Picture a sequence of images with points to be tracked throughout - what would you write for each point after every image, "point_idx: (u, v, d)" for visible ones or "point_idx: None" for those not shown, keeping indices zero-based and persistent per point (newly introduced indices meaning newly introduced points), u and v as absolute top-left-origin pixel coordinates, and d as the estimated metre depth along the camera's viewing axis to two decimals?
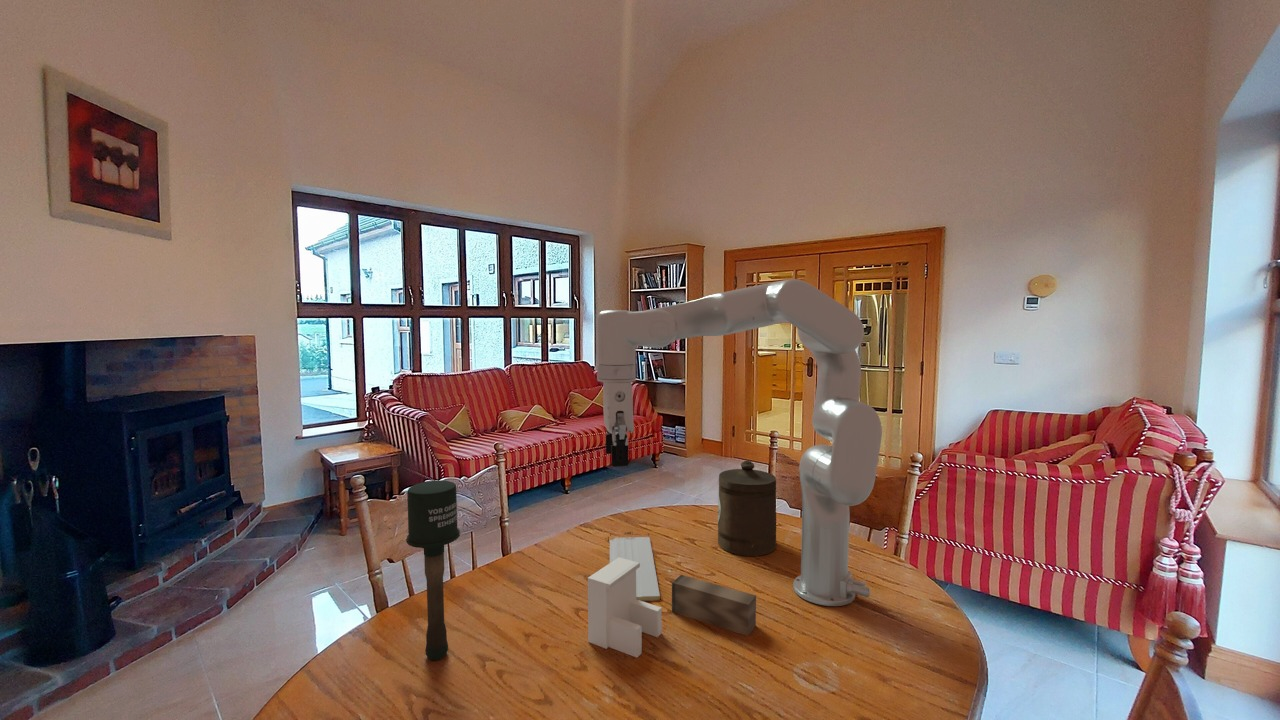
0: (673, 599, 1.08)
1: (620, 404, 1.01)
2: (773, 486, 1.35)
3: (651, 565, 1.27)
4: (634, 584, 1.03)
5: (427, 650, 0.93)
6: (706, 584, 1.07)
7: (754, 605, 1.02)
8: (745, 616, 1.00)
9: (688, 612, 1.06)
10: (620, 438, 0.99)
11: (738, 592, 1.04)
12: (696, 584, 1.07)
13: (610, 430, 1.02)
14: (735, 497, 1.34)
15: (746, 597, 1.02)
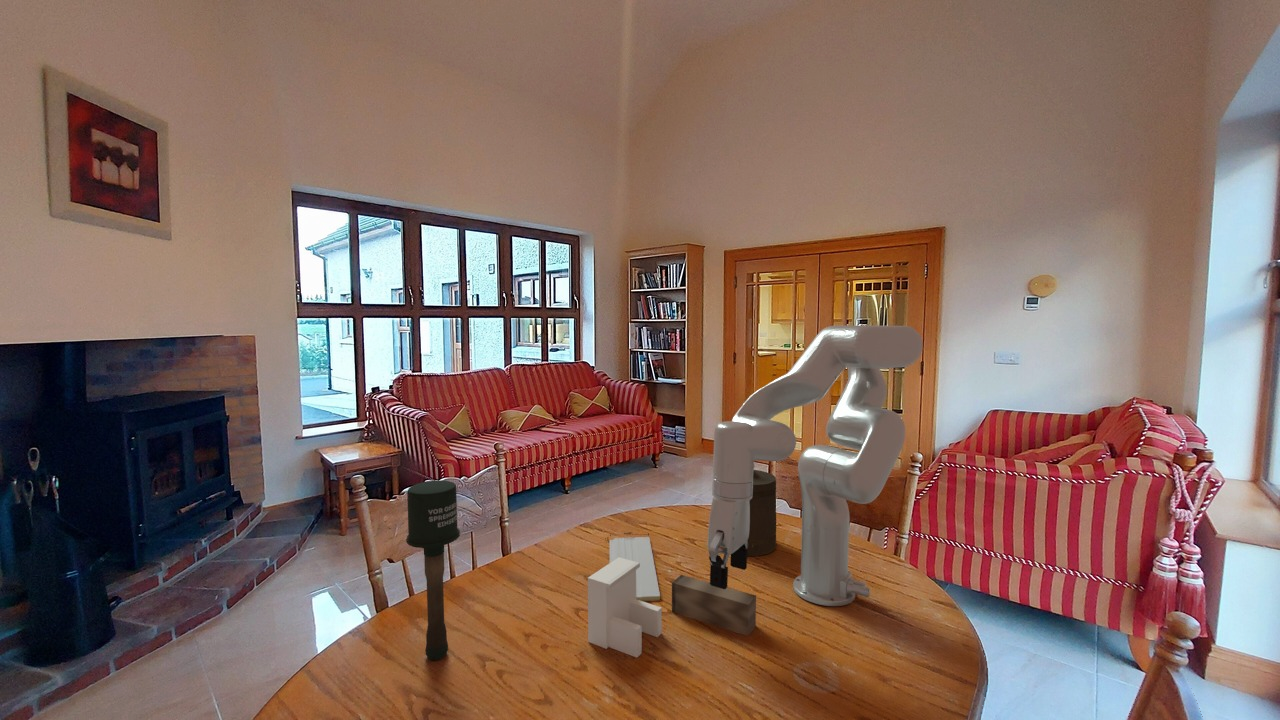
0: (673, 599, 1.08)
1: None
2: (773, 486, 1.35)
3: (651, 565, 1.27)
4: (634, 584, 1.03)
5: (427, 650, 0.93)
6: (706, 584, 1.07)
7: (754, 605, 1.02)
8: (745, 616, 1.00)
9: (688, 612, 1.06)
10: None
11: (738, 592, 1.04)
12: (696, 584, 1.07)
13: None
14: None
15: (746, 597, 1.02)
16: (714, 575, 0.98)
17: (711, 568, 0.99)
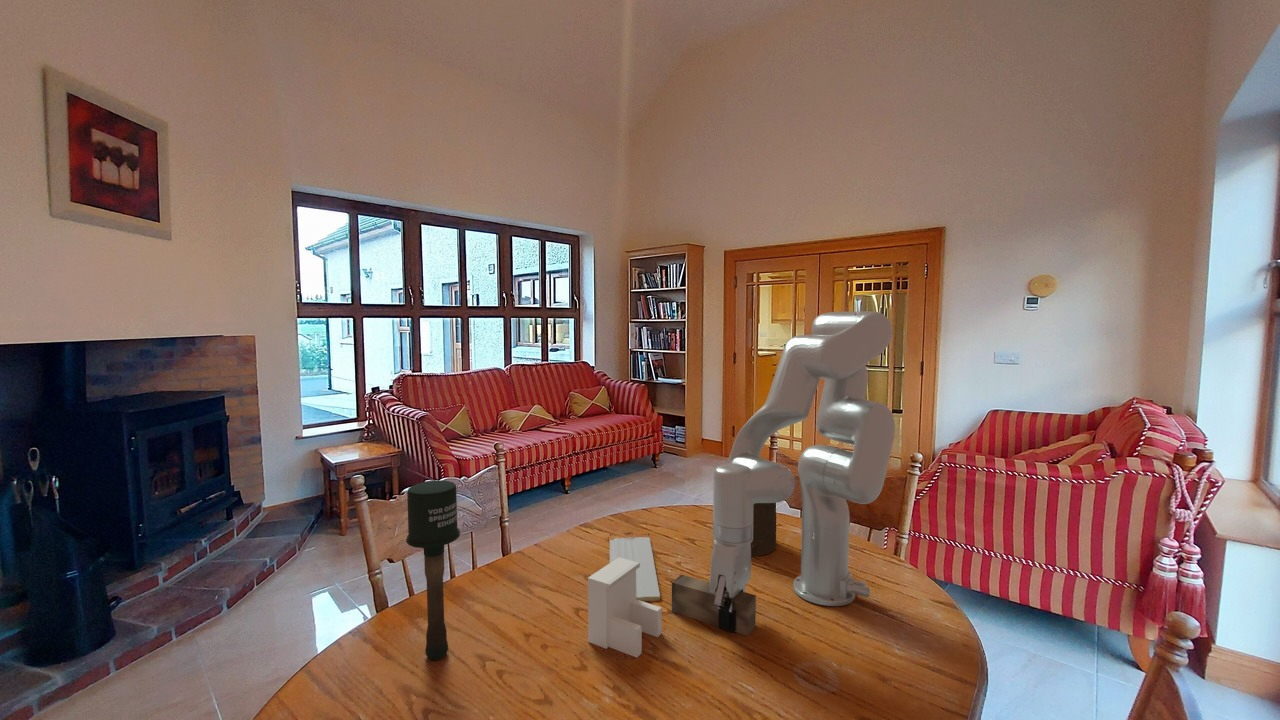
0: (673, 599, 1.08)
1: None
2: None
3: (652, 565, 1.26)
4: (634, 584, 1.03)
5: (427, 650, 0.93)
6: (706, 584, 1.07)
7: (754, 605, 1.02)
8: (745, 616, 1.00)
9: (687, 612, 1.06)
10: None
11: None
12: (695, 583, 1.07)
13: None
14: None
15: (746, 597, 1.02)
16: (722, 619, 1.01)
17: (719, 612, 1.02)
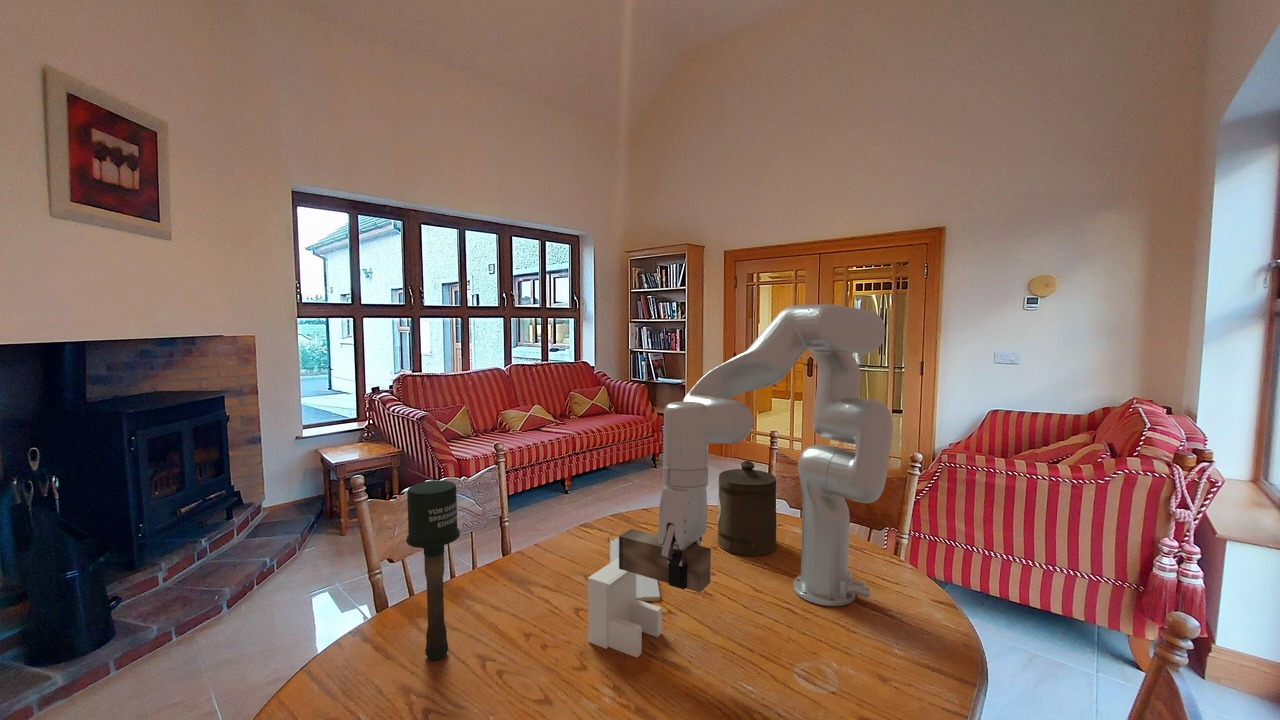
0: (620, 554, 0.96)
1: None
2: (773, 486, 1.35)
3: None
4: (634, 584, 1.03)
5: (427, 650, 0.93)
6: (657, 538, 0.96)
7: (708, 559, 0.91)
8: (697, 570, 0.88)
9: (636, 568, 0.95)
10: None
11: (691, 545, 0.92)
12: (645, 537, 0.96)
13: None
14: (735, 498, 1.34)
15: (700, 550, 0.91)
16: (672, 574, 0.89)
17: (669, 567, 0.90)
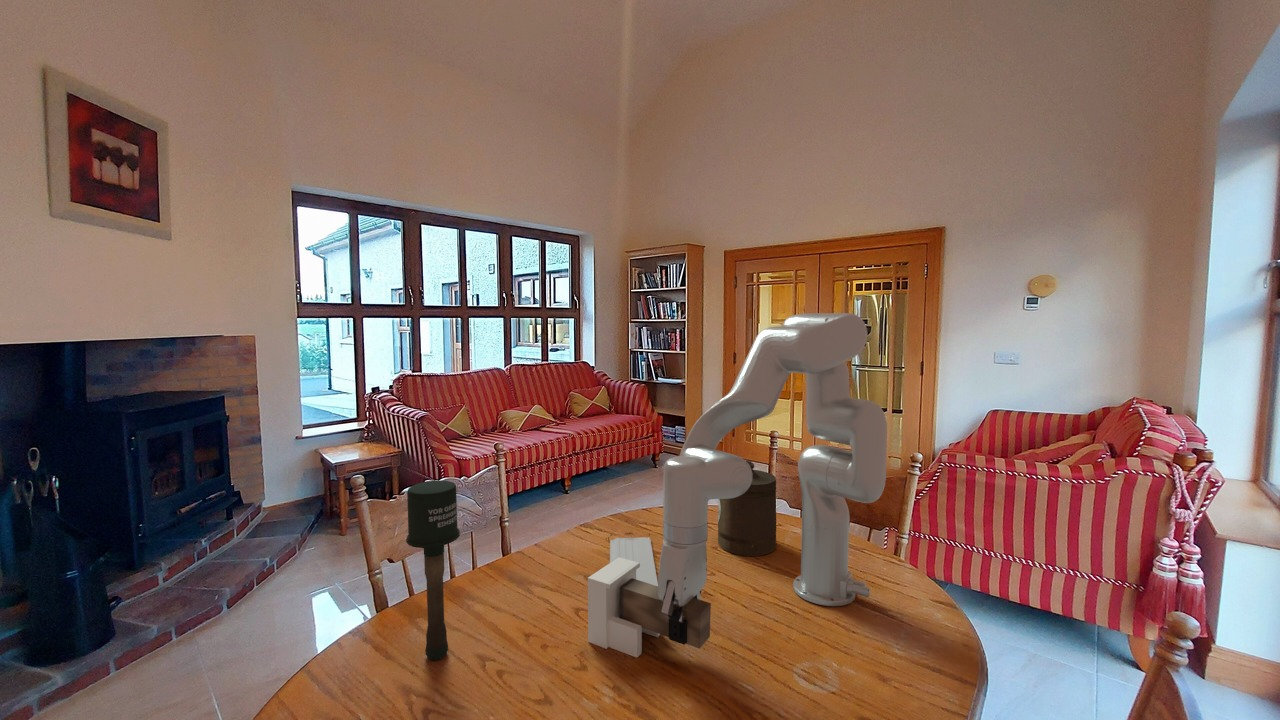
0: (621, 605, 0.97)
1: None
2: (773, 486, 1.35)
3: (652, 566, 1.26)
4: None
5: (427, 650, 0.93)
6: (657, 589, 0.96)
7: (708, 614, 0.92)
8: (697, 626, 0.89)
9: (636, 620, 0.96)
10: None
11: (691, 599, 0.93)
12: (646, 588, 0.97)
13: None
14: (735, 497, 1.34)
15: (700, 605, 0.91)
16: (672, 629, 0.90)
17: (669, 621, 0.91)
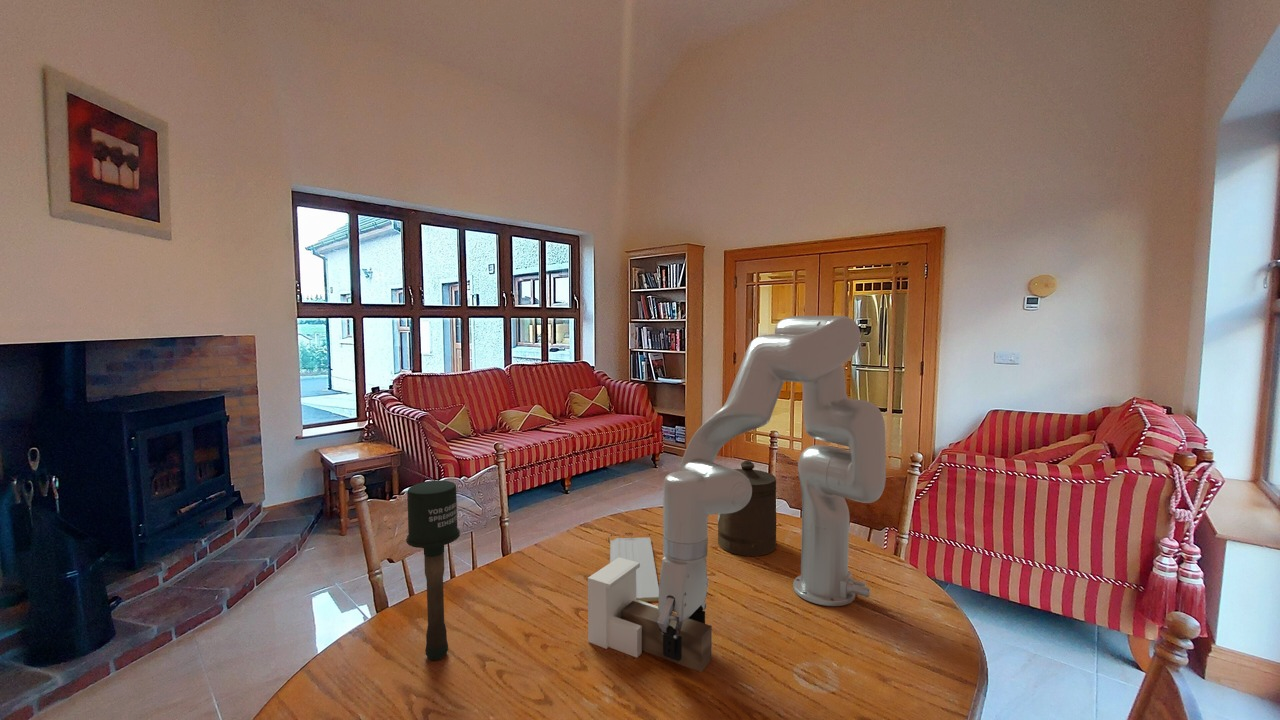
0: None
1: None
2: (773, 486, 1.35)
3: (652, 566, 1.26)
4: (634, 584, 1.03)
5: (427, 650, 0.93)
6: (658, 612, 0.97)
7: (709, 637, 0.92)
8: (698, 650, 0.90)
9: None
10: None
11: (692, 622, 0.94)
12: (647, 612, 0.97)
13: None
14: None
15: (700, 628, 0.92)
16: (667, 646, 0.89)
17: (664, 637, 0.89)
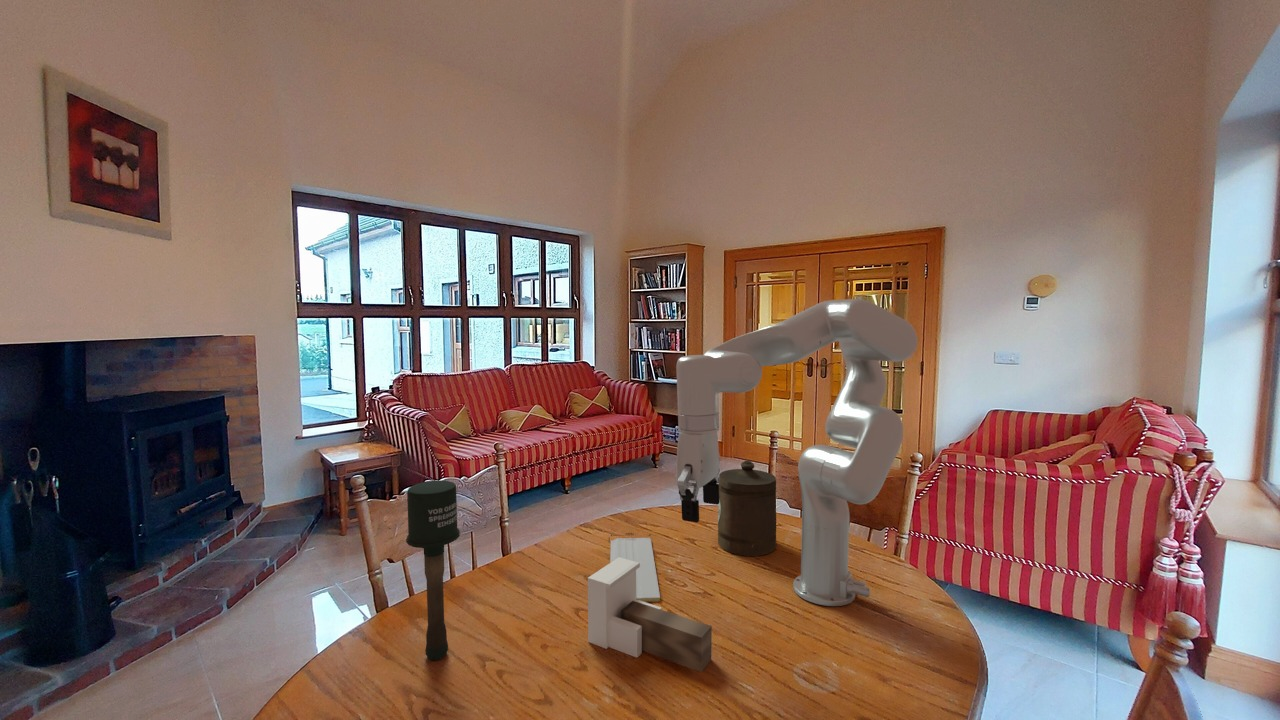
0: None
1: None
2: (773, 486, 1.35)
3: (652, 566, 1.26)
4: (634, 584, 1.03)
5: (427, 650, 0.93)
6: (658, 612, 0.97)
7: (709, 637, 0.92)
8: (698, 650, 0.90)
9: None
10: None
11: (692, 622, 0.93)
12: (647, 612, 0.97)
13: None
14: (735, 497, 1.34)
15: (700, 628, 0.92)
16: (685, 509, 0.96)
17: (682, 503, 0.97)
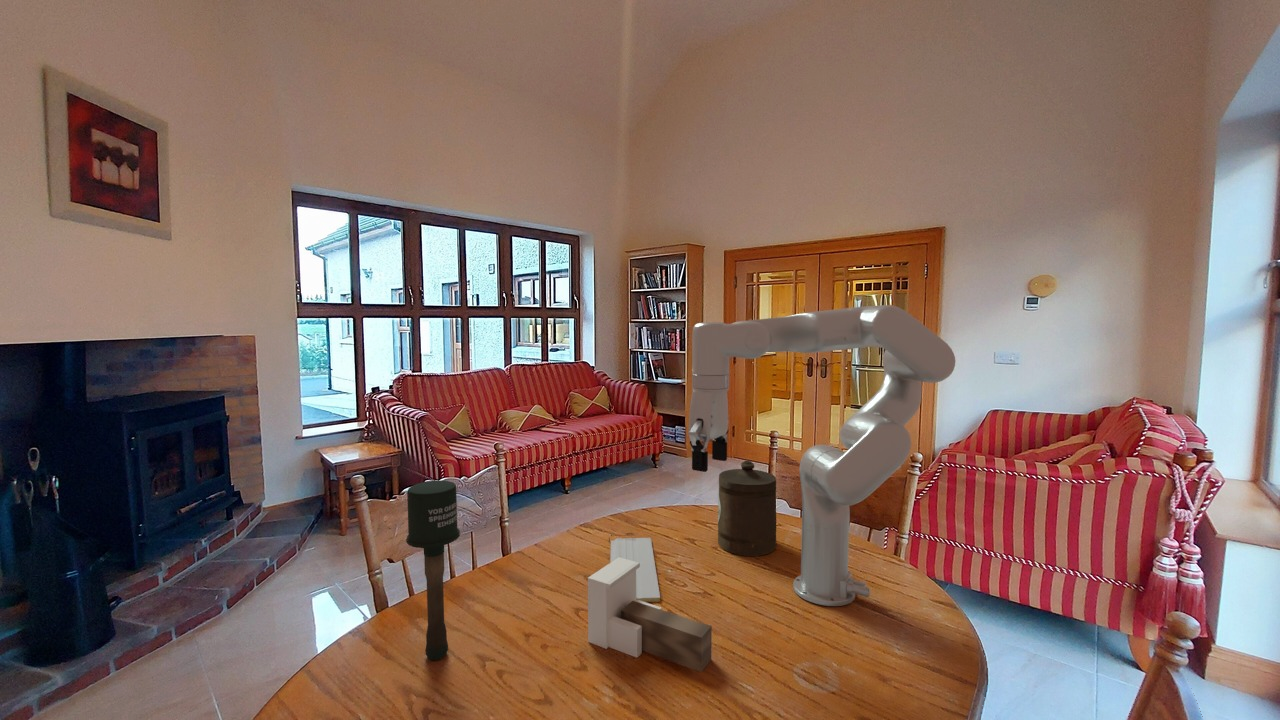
0: None
1: None
2: (773, 486, 1.35)
3: (652, 566, 1.26)
4: (634, 584, 1.03)
5: (427, 650, 0.93)
6: (658, 612, 0.97)
7: (709, 637, 0.92)
8: (698, 650, 0.90)
9: None
10: None
11: (692, 622, 0.93)
12: (647, 612, 0.97)
13: None
14: (735, 498, 1.34)
15: (700, 628, 0.92)
16: (695, 459, 1.07)
17: (693, 454, 1.08)
